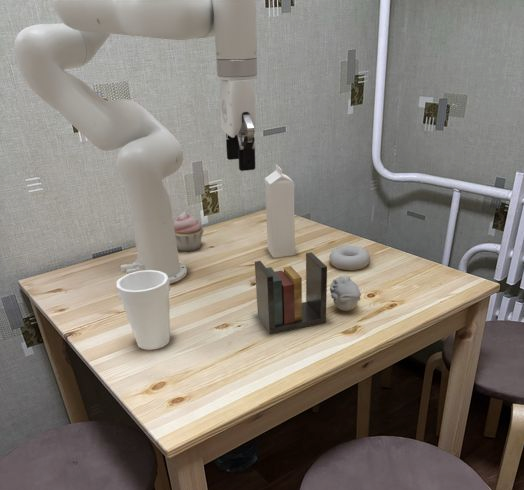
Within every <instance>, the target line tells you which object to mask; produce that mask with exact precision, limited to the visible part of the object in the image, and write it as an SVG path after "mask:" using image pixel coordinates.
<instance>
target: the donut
mask: <svg viewBox="0 0 524 490" xmlns="http://www.w3.org/2000/svg"><path fill="white" fill-rule="evenodd" d="M370 254H371V253H369V251H368V250H367V249H366V248H363V247H361V246H356V245H343V246H340V247H335V248H334V249H333V250H331V252H330V253H329V257H328V258H329V262H330V264H331V265H332V266H333V267H335V268H337V269H340V270H345V271H355V270H359V269H363V268H365V267H366V266H367V265H369V263H370V261H371V255H370Z"/></svg>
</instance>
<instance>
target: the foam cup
mask: <svg viewBox="0 0 524 490" xmlns="http://www.w3.org/2000/svg"><path fill="white" fill-rule="evenodd" d="M115 285H116V289H117V294H118V298H119V300H120V301H121V303H122V306H123V309H124V312H125V314H126V317H127V319H128V322H129V325H130V328H131V330H132V334H133V336H134V339H135V341H136V344H137V346H138V348H139V349H142V350H147V351H151V350H152V351H153V350H158V349H162V348H163V347H165V346H166V345H168V344H169V342H170V341H171V339H170V338H171V324H170V323H171V322H170V321H171V320H170V319H171V317H170V291H171V285H170V284H169V279H168V276H167V274H165V273H163V272H161V271H155V270H144V271H137V272H133V273H129V274H127V273H126V274H125V275H122V276H121V277H120V278H119V279H118V280H117V281H116V282H115Z"/></svg>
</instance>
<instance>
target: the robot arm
mask: <svg viewBox="0 0 524 490" xmlns="http://www.w3.org/2000/svg"><path fill="white" fill-rule="evenodd" d="M52 6H53V10H54V13H55V14H56V16H57V18H58V20H60V22H61V23H60V22H58V23H57V22H56V23H39V24H38V23H37V24H33V25H29V26H27V27H25V28H23V29H22V30H20V32H18V34H17V35H16V37H15V39H14V42H13V43H14V44H13V53H14V59H15V62H16V65H17V68H18V70H19V72H20V75H21V77H22V78H23V80H24V81H25V83H26V84H27V85H28V87H29V88H30V89H31V90H32V92H34V94H36V95H37V96H38V97H39V98H40V99H41V100H43V101H44V102H46V103H47V104H48V105H49V106H50V107H52V108H53V109H54V110H55V111H57V112H58V113H59V115H61V116H62V117H64V119H65V120H66V121H67V122H69V123H70V124H71V125H72V127H74V128H75V129H76V130H77V131H78V132H79V133H80V134H81V135H82V136H84V137H85V138H86V139H87V140H88V141H89V142H90V143H91V144H93V146H95V147H96V148H98V149H99V150H101V151H106V152H110V151H114V150H118V149H120V150H119V152H118V153H117V156H116V170H117V174H118V177H119V179H120V182H121V184H122V187H123V190H124V193H125V196H126V201H127V206H128V211H129V217H130V221H131V227H132V232H133V238H134V242H135V248H136V253H137V256H136V260H135V261H132V263H123V264H120V265H119V266H120V271H121V273H122V274H123V273H126V275H127V274H129V273H133V272H137V271H144V270H155V271H161V272H163V273H165V274H167V276H168V279H169V285H170V284H171V285H172V284H174V283H177V282H179V281H181V280H182V279H184V278H185V277H186V276H187V274H188V270H187V266H186V265H184V264H183V263H181V262H180V260H179V251H178V248H177V244H176V237H175V230H174V217H173V216H174V215H173V210H172V203H171V199H170V196H169V193H168V191H167V189H166V187H165V185H164V182H163V180H164V178H167V177H169V176H171V175H174V174H175V173H176V172H177V171H179V169H180V168H181V166H182V164H183V161H184V152H183V148H182V146H181V143H180V142H179V140H177V138H176V136H174V135H173V134H172V133H171V132H170V131H169V130H168V129H167V128H166V127H165V126H164V125H163V124H162V123H161V122H160V121H158V119H156V118H155V117H154V115H153V114H151V113H150V112H149V111H148V110H147V109H145V107H143V105H141V104H139V103H137V102H136V101H134V100H132V99H129V98H128V99H127V98H118V99H114V100H106V99H104V98H103V97H102V96H100V95H99V94H98V93H97V92H95V91H94V90H93V88H92V87H90V86H89V85H88V84H87V83H86V82H84V81H83V80H81V79H80V78H78V77H76V76H74V75H73V74H71V73H70V72H68V71H66V70H70V69H77V68H81V67H83V66H85V65H87V64H88V63H90V62H91V60H92V59H93V58H94V57H95V55H96V54H97V53H98V52H99V51H100V49H101V47H102V46H103V45H104V44H105V43H106V41H107V40H108V39H109V37H110V36H111V35H112V34H113V35H121V36H122V35H123V36H131V37H141V38H150V39H162V40H174V41H187V40H194V39H195V40H196V39H205V38H210V37H214V42H215V61H216V62H215V63H216V77H217V80H219V81H220V86H219V104H220V105H219V106H220V129H221V130H222V131H223V132H224V134H225V138H226V139H225V141H226V142H225V146H226V158H227V160H228V161H232V160H238V170H239V171H240V172H244V171H245V172H247V171H255V170H256V144H255V141H256V139H255V138H256V137H255V134H256V131H257V130H256V129H257V128H256V124H257V119H256V116H257V115H256V98H255V86H254V80H256V79H258V49H257V47H258V45H257V44H258V43H257V41H258V40H257V3H256V0H52Z"/></svg>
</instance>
